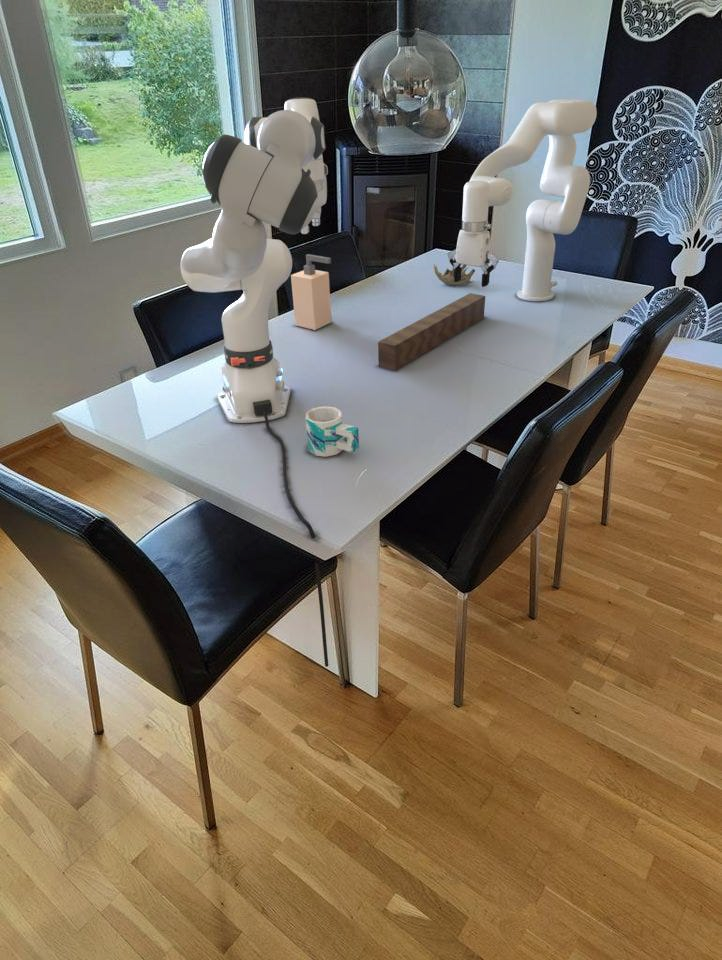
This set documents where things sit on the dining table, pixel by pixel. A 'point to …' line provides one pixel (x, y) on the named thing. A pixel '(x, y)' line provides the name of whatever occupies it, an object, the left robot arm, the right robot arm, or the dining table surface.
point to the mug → (329, 432)
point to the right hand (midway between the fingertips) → (470, 283)
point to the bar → (430, 331)
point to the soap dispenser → (311, 295)
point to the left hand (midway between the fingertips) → (311, 229)
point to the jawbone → (449, 276)
